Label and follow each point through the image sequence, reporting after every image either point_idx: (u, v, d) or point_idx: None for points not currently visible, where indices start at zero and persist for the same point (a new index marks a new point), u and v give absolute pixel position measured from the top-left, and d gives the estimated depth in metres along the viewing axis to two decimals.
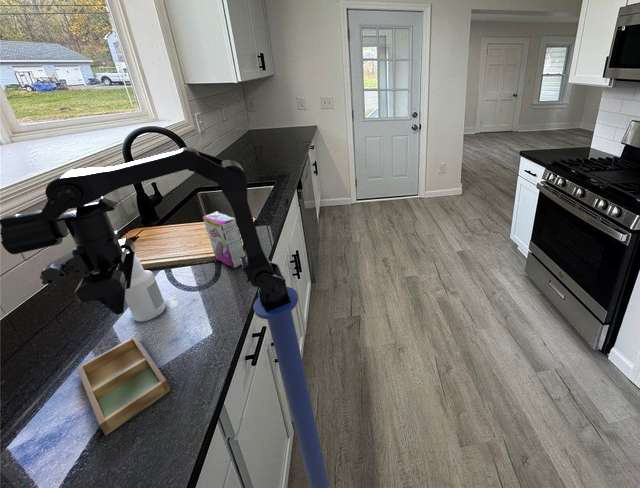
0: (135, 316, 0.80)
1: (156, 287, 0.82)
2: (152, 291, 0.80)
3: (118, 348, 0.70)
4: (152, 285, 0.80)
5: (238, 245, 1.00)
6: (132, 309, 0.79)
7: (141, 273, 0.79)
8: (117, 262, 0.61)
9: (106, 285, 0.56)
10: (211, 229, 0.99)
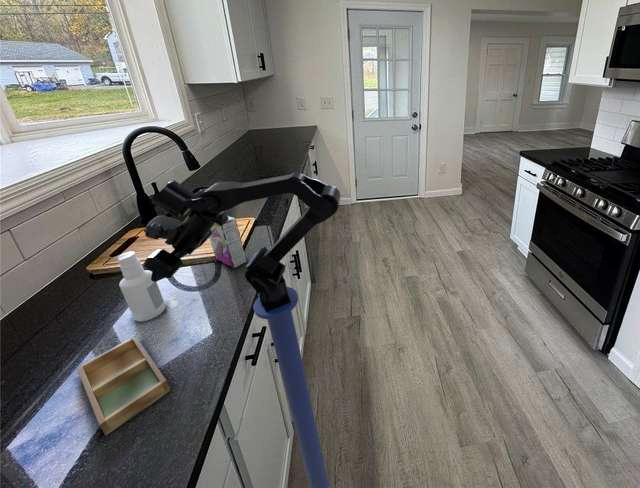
0: (135, 316, 0.80)
1: (156, 287, 0.82)
2: (152, 291, 0.80)
3: (118, 348, 0.70)
4: (152, 285, 0.80)
5: (238, 245, 1.00)
6: (132, 309, 0.79)
7: (141, 273, 0.79)
8: (187, 252, 0.75)
9: (165, 270, 0.68)
10: (211, 229, 0.99)
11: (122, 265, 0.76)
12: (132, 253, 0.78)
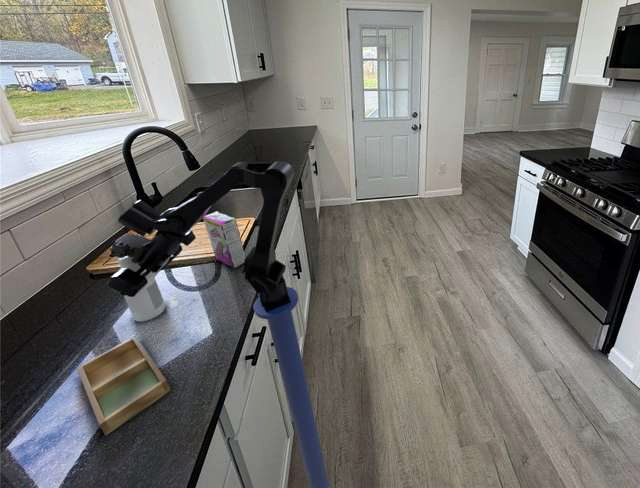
0: (135, 316, 0.80)
1: (156, 287, 0.82)
2: (152, 291, 0.80)
3: (118, 348, 0.70)
4: (151, 285, 0.80)
5: (238, 245, 1.00)
6: (132, 309, 0.79)
7: None
8: (154, 270, 0.76)
9: (128, 289, 0.70)
10: (211, 229, 0.99)
11: (122, 266, 0.76)
12: None
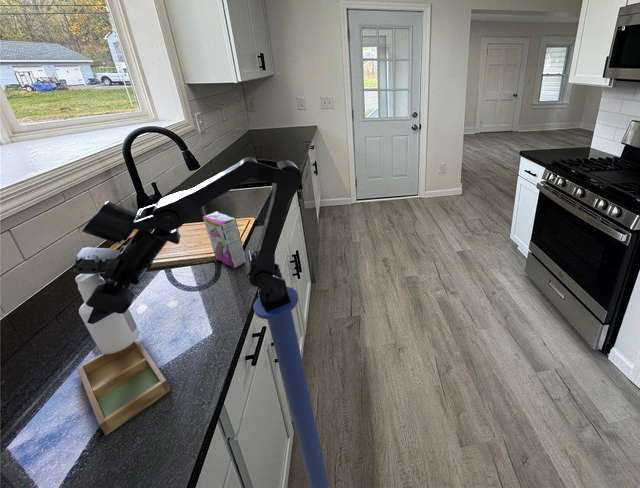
0: (107, 348, 0.66)
1: None
2: (126, 312, 0.67)
3: None
4: None
5: (238, 245, 1.00)
6: (103, 340, 0.65)
7: None
8: (134, 282, 0.65)
9: (119, 304, 0.59)
10: (211, 229, 0.99)
11: (85, 287, 0.62)
12: None
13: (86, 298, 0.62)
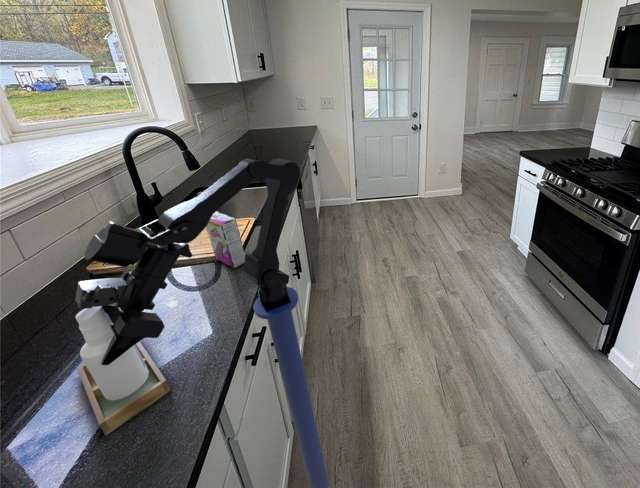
0: (122, 391, 0.57)
1: None
2: (136, 346, 0.60)
3: None
4: None
5: (238, 245, 1.00)
6: (117, 382, 0.56)
7: None
8: (149, 307, 0.59)
9: (155, 327, 0.54)
10: (211, 229, 0.99)
11: (93, 325, 0.53)
12: None
13: (94, 338, 0.54)
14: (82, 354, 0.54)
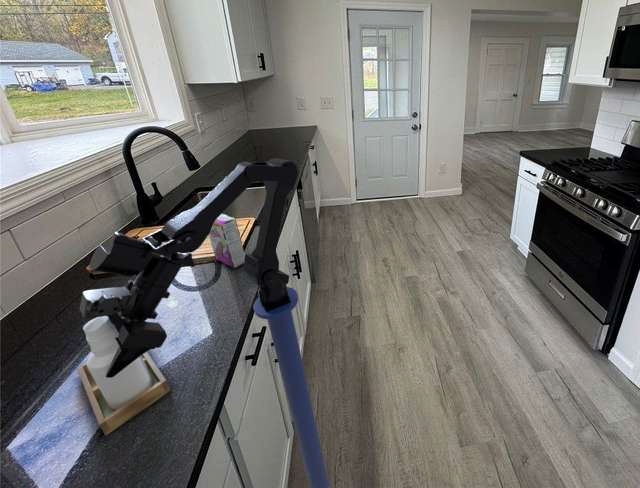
0: (127, 400, 0.58)
1: None
2: None
3: None
4: None
5: (238, 245, 1.00)
6: (123, 392, 0.57)
7: None
8: (152, 316, 0.60)
9: (158, 337, 0.55)
10: (211, 229, 0.99)
11: (100, 336, 0.54)
12: (102, 317, 0.56)
13: (101, 349, 0.55)
14: (89, 365, 0.55)
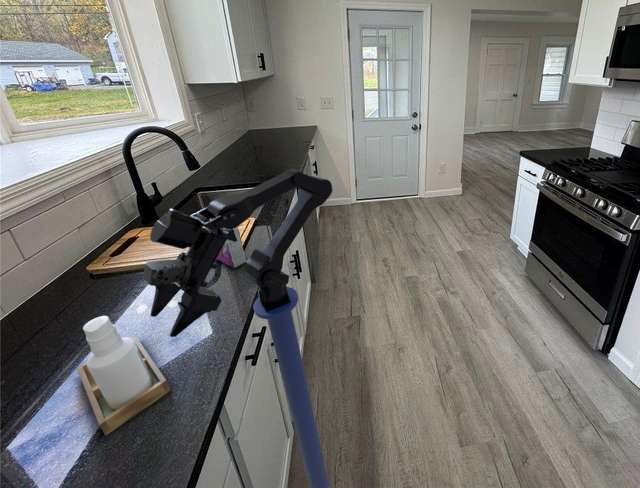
0: (127, 400, 0.58)
1: None
2: None
3: None
4: None
5: (238, 245, 1.00)
6: (123, 392, 0.57)
7: (121, 339, 0.58)
8: (203, 285, 0.67)
9: (215, 301, 0.62)
10: None
11: (100, 336, 0.54)
12: (102, 317, 0.56)
13: (101, 349, 0.55)
14: (89, 365, 0.55)
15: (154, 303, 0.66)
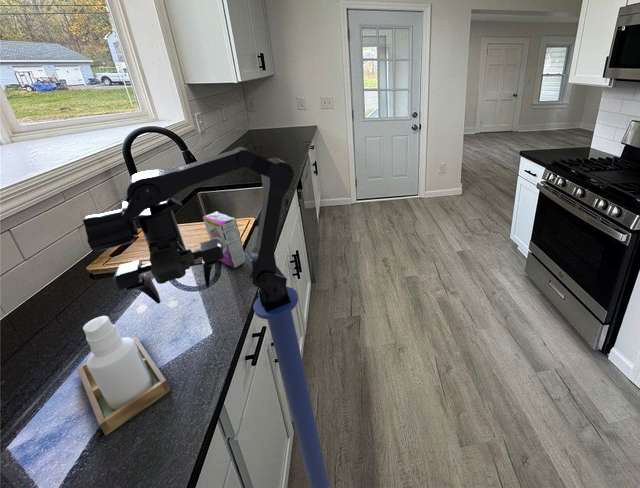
0: (127, 400, 0.58)
1: None
2: None
3: None
4: None
5: (238, 245, 1.00)
6: (123, 392, 0.57)
7: (121, 339, 0.58)
8: None
9: (220, 242, 0.72)
10: (211, 229, 0.99)
11: (100, 336, 0.54)
12: (102, 317, 0.56)
13: (101, 349, 0.55)
14: (89, 365, 0.55)
15: (153, 295, 0.66)
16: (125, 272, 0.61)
